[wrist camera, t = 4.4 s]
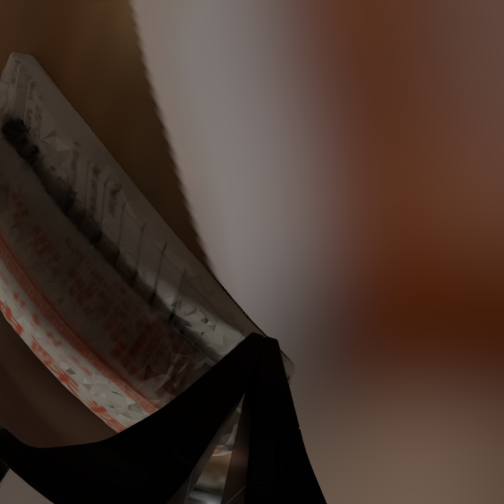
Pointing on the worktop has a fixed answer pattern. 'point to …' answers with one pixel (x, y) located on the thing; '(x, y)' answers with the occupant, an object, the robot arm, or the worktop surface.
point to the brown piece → (40, 399)
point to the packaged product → (100, 266)
